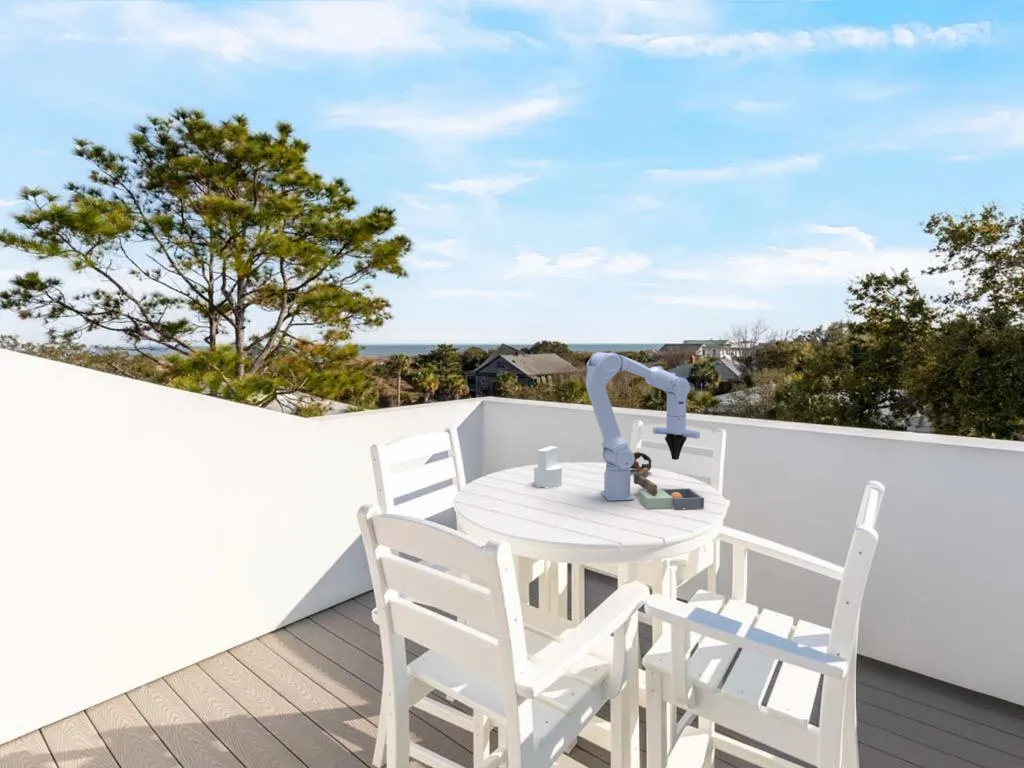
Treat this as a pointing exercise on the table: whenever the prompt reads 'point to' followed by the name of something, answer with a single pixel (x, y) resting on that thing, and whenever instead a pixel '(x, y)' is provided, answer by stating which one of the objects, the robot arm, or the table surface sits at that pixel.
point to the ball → (676, 495)
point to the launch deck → (656, 499)
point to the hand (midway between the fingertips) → (675, 459)
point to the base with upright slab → (548, 468)
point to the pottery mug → (639, 468)
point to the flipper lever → (645, 481)
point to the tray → (686, 499)
